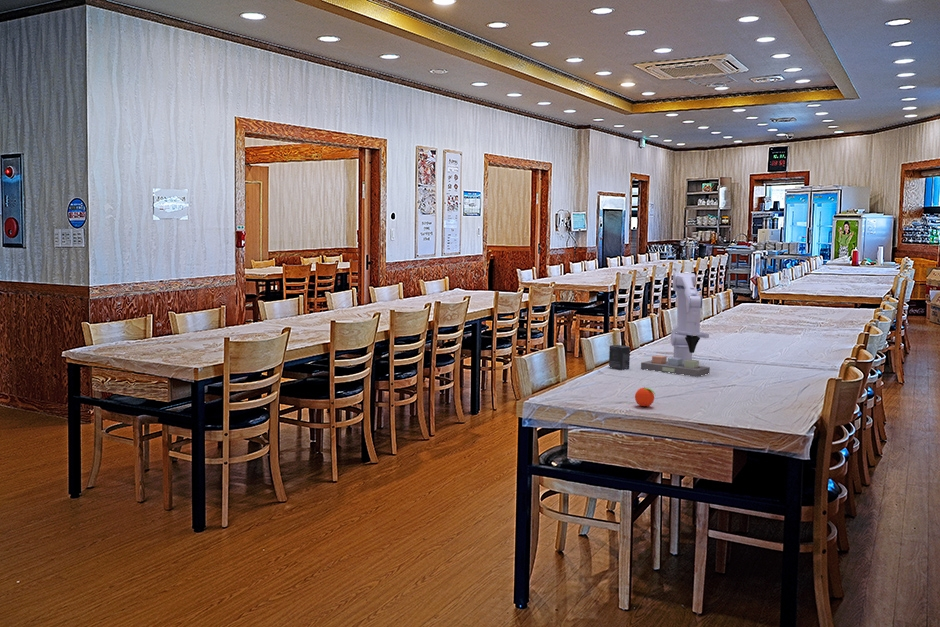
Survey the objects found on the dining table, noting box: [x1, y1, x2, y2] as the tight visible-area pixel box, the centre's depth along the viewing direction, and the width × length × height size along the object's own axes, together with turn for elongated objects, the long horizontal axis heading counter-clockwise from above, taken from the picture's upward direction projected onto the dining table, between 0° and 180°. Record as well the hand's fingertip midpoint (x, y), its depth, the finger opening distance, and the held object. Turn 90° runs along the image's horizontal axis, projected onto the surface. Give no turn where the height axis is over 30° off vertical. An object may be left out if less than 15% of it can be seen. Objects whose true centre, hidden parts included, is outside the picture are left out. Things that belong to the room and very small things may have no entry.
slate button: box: [667, 356, 683, 366], centre depth 377 cm, size 5×5×4 cm
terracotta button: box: [651, 354, 668, 364], centre depth 382 cm, size 5×5×4 cm
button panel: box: [640, 359, 711, 377], centre depth 377 cm, size 12×28×3 cm, turn 49°
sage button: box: [684, 359, 700, 369], centre depth 372 cm, size 5×5×4 cm
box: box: [608, 344, 631, 371], centre depth 382 cm, size 8×6×11 cm
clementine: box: [634, 386, 656, 407], centre depth 300 cm, size 8×7×7 cm
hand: (691, 352), depth 372 cm, fingers closed
